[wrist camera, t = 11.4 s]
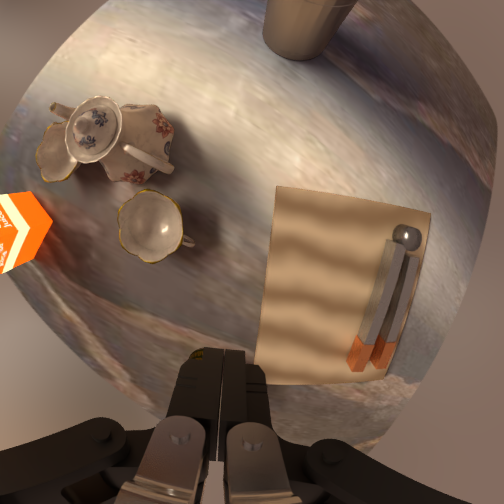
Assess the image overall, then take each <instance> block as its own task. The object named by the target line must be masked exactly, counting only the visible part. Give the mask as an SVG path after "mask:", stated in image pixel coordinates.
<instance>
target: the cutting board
mask: <svg viewBox="0 0 504 504" xmlns="http://www.w3.org/2000/svg"><path fill="white" fill-rule="evenodd" d="M430 217H431V213H427V212H423V211H419V210H414V209H410V208H405V207H401V206H396V205H391V204H386V203H381V202H376V201H371V200H366V199H360V198H355V197H349V196H343V195H337V194H331V193H324V192H318V191H311V190H304V189H297V188H289V187H282V186H276V194H275V203H274V212H273V220H272V229H271V237H270V245H269V253H268V261H267V269H266V277H265V285H264V293H263V300H262V308H261V315H260V323H259V330H258V337H257V344H256V352H255V359H254V364H255V365H259V366H260V368H261V369H262V370H263V372H264V373H265V377H266V384H279V385H309V384H336V383H352V382H364V381H374V380H383V379H384V377H385V374H386V372H387V370H388V367H389V365H390V363H391V360H392V358H393V355H394V352H395V350H396V347H397V345H398V342H399V339H400V336H401V333H402V331H403V328H404V325H405V322H406V319H407V315H408V312H409V309H410V306H411V302H412V299H413V296H414V292H415V288H416V285H417V281H418V277H419V273H420V269H421V264H422V260H423V255H424V251H425V246H426V240H427V235H428V229H429V223H430ZM399 224H404V225H408V226H411V227H414V228H417V229H419V230H420V232H421V234H422V242H421V245H420V247H419V248H418V249H417V250H415V251H408V250H406V251H405V253H410V254H412V255H414V256H416V257H419V263H418V267H417V271H416V276H415V280H414V283H413V287H412V291H411V295H410V298H409V302H408V305H407V308H406V312H405V315H404V318H403V321H402V324H401V327H400V330H399V333H398V336H397V339H396V341H395V342H396V345H395V348H394V350H393V353H392V355H391V358H390V360H389V363H388V365H387V368H386V369H375V367H374V366H373V364H372V363H371V361H370V360H368V362H367V364H366V367H365V369H364V371H363V372H352V371H351V370H350V368H349V366H348V364H347V362H346V360H347V357H348V355H349V352H350V350H351V347H352V345H353V342H354V339H355V337H356V335H357V334H358V331H359V328H360V326H361V323H362V320H363V317H364V314H365V311H366V308H367V305H368V302H369V299H370V296H371V293H372V290H373V287H374V283H375V280H376V277H377V273H378V270H379V266H380V262H381V259H382V255H383V251H384V247H385V243H386V239H389V240H393V239H392V233H393V230H394V228H395V227H396V226H397V225H399ZM375 342H376V341H375ZM374 345H375V344H374ZM370 356H371V355H370ZM369 359H370V358H369Z"/></svg>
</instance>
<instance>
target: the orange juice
mask: <svg viewBox="0 0 504 504" xmlns="http://www.w3.org/2000/svg"><path fill="white" fill-rule="evenodd" d="M52 222H53V221H52V220H51V218H50V217H49V216H48V214H47V213H46V212H45V211H44V209H43V208H42V207H41V205H40V204H39V202H38V201H37V200H36V198H35V197H34V196H33V194H32V193H31V191H30V192H22V193H14V194H4V195H0V274H2V273H5V272H7V271H9V270H11V269H12V268H14V267H16V266H18V265H20V264H23V263H25V262H27V261H29V260H31V259H33V258H34V256H35V254H36V252H37V250H38V248H39V246H40V244H41V242H42V240H43V239H44V237H45V235H46V233H47V231H48V229H49V227H50V226H51V224H52Z"/></svg>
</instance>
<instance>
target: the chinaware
mask: <svg viewBox="0 0 504 504" xmlns="http://www.w3.org/2000/svg"><path fill="white" fill-rule="evenodd" d="M49 110H50V111H51V112H52V113H54V114H56V115H58V116H60V117H62V118H64V119H66V120H68V121H64V122H62V123H57V122H53V123H52V124H51V126H49V127H48V128H47V130H46V131H45V133H44V137H43V141H44V142H42V143H41V144H40V146H39V147H38V149H37V153H36V162H37V164H38V166H39V167H40V169H41V176H42V178H43V179H44V181H45V182H50V183H51V182H57V181H58V182H59V181H64V180H67V179H68V178H70V176H71V174H72V173H73V172H74V171H76V170H77V169H78V167H79V166H80V165H81V163H85V164H86V163H91V162H96V161H99V162H100V163H101V164H102V166H103V167H104V169H105V171H106V173H107V175H108V177H109V178H110V180H112V181H115V182H119V181H122V182H131V183H135V184H142V183H144V182H145V181H146V180H147V179H148V178H149V177H150V176H151V175H153V174H154V173H155V172H156V171H158V170H159V171H161V172H164V173H166V174H171V173H172V172H173V170H174V166H173V165H172V164H170V163H169V162H168V161H169V153H170V147H171V142H172V138H173V135H174V128H173V127H172V125H171V124H170V123H169V122H168V121H167V120H166V118H165V117H164V116H163V114H162V113H161V111H160V109H159V107H158V106H156V105H133V104H126V105H124V106H122V107H121V108H119V106H118V104H117V103H116V102H114V101H113V100H112V99H111V98H110V97H104V96H96V97H93V98H89V99H87V100H86V101H85V102H84V103H82V104H80V105H79V106H78V107H77V108H71V107H67V106H64V105H61V104H59V103H55V102H54V103H52V104H51V105H50V107H49ZM117 220H118V224H119V228H121V229H120V231H119V239H120V242H121V246H122V248H123V249H125V250H126V251H127V252H128V253H130V254H132V255H135V256H137V255H138V257H139V258H140V259H141V260H143V261H144V262H147V263H150V264H155V263H157V262H160V261H162V260H163V259H165V258H166V257H167V256H168V254H169V255H170V254H172V253H174V252H175V251H176V250H177V249H178V248H179V247H181V245H182V244H183V245H185V246H187V247H193V246H194V245H195V241H194V240H193V239H192V238H190V237H188V236H186V235H183V225H182V224H183V218H182V212H181V208H180V206H179V204H178V203H176V202H175V201H174V200H172V199H171V198H169V197H167V196H164V195H163V194H161V193H159V192H157V191H155V190H151V189H144V190H142V191H140V192H138V193H137V194H136V195H135V196H134V197H133V199H130V200H128V201H127V202H125V203H124V204H123V205H122V207H121V208H120V209H119V210H118V218H117ZM183 238H185V239H187V240H188V241H190V242H191V243H189V242H184V239H183Z"/></svg>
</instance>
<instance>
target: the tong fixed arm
mask: <svg viewBox="0 0 504 504" xmlns="http://www.w3.org/2000/svg"><path fill="white" fill-rule="evenodd" d="M418 263H419V257H416V256H414V255H412V254H410V253H405V255H404V258H403V262H402V265H401V269H400V272H399V276H398V279H397V282H396V286H395V289H394V292H393V295H392V298H391V301H390V304H389V307H388V309H387V312H386V315H385V318H384V320H383V323H382V326H381V328H380V331H379V334H378V336H377V339H376V342H375V346H374V348H373V351H372V353H371V356H370V359H369V360H370V361H371V363H372V364H373V366H374V367H375V369H386V368H387V365H388V363H389V360H390V358H391V355H392V353H393V350H394V348H395V345H396V342H395V341H396V339H397V336H398V333H399V330H400V327H401V324H402V321H403V318H404V315H405V312H406V308H407V305H408V302H409V298H410V295H411V291H412V287H413V283H414V280H415V276H416V271H417V267H418Z"/></svg>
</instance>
